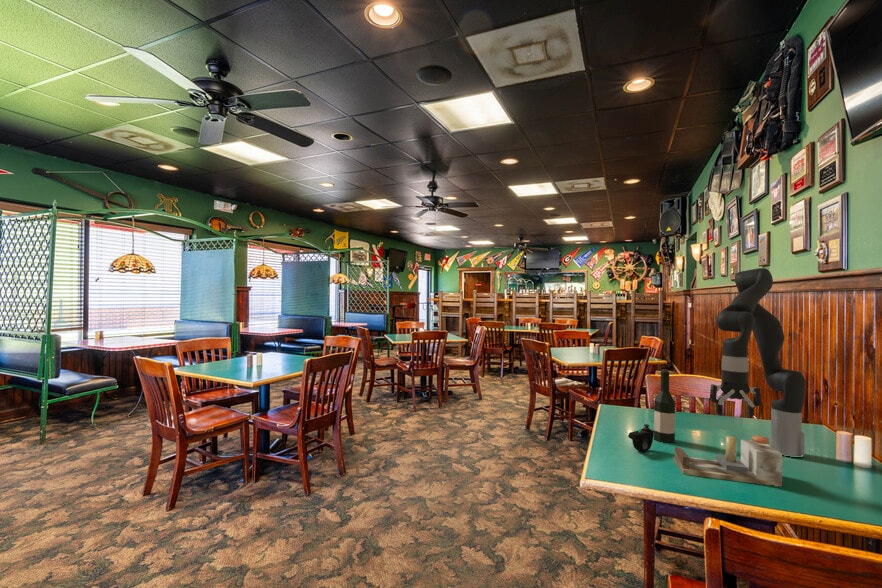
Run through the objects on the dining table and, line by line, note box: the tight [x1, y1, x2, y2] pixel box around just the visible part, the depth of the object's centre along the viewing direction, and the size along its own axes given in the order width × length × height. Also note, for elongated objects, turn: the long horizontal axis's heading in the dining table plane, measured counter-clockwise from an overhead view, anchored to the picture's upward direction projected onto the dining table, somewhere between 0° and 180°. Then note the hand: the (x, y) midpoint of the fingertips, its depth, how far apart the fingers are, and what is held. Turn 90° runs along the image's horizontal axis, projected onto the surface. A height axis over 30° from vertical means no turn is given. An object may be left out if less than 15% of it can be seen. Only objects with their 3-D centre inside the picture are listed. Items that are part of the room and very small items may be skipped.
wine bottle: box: [653, 368, 676, 444], centre depth 171 cm, size 8×8×30 cm
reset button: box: [751, 435, 770, 445], centre depth 136 cm, size 4×4×1 cm
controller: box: [627, 423, 654, 453], centre depth 157 cm, size 4×12×10 cm, turn 120°
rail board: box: [673, 439, 783, 487], centre depth 139 cm, size 28×12×10 cm, turn 73°
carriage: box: [714, 435, 748, 473], centre depth 138 cm, size 6×10×10 cm, turn 163°
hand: (734, 416), depth 138 cm, fingers open, 8 cm apart
